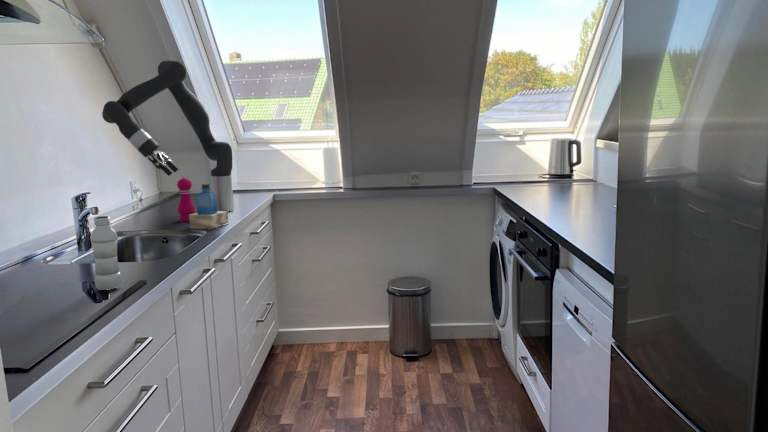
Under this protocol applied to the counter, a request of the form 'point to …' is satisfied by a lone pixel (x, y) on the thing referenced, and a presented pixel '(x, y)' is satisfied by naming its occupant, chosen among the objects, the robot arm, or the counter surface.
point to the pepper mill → (185, 199)
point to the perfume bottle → (206, 201)
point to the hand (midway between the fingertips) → (173, 172)
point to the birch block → (208, 220)
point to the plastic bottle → (105, 254)
